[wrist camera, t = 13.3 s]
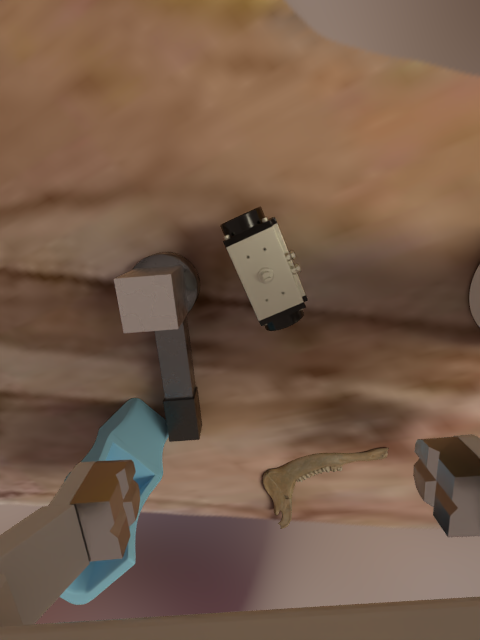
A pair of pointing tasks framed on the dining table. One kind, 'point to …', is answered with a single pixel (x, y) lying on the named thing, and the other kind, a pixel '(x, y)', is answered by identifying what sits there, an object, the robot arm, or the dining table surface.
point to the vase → (146, 452)
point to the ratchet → (178, 359)
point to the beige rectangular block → (152, 298)
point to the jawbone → (307, 475)
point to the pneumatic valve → (265, 269)
